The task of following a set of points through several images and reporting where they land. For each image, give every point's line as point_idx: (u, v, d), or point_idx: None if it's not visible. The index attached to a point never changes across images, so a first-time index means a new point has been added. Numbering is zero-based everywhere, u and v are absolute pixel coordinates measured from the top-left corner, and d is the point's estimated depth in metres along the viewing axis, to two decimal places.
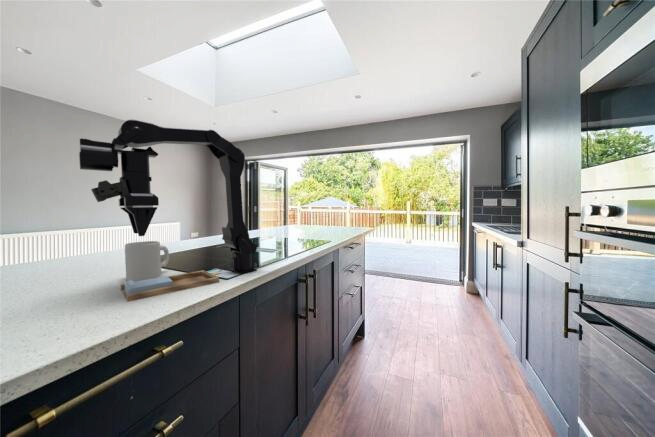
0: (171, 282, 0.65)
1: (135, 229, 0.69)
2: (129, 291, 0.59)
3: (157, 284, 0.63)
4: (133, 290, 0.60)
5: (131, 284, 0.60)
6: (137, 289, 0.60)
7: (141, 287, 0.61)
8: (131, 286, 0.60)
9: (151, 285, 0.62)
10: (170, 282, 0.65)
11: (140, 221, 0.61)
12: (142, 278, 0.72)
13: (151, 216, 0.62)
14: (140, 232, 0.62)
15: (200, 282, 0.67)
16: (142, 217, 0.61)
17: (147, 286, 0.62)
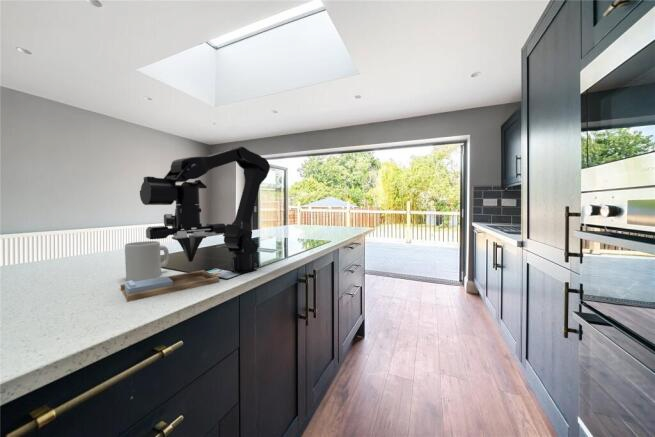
0: (171, 282, 0.65)
1: None
2: (129, 291, 0.59)
3: (157, 284, 0.63)
4: (133, 290, 0.60)
5: (131, 284, 0.60)
6: (137, 289, 0.60)
7: (141, 287, 0.61)
8: (131, 286, 0.60)
9: (151, 285, 0.62)
10: (170, 282, 0.65)
11: (183, 249, 0.70)
12: (142, 278, 0.72)
13: (184, 246, 0.68)
14: (187, 258, 0.70)
15: (200, 282, 0.67)
16: (184, 245, 0.69)
17: (147, 286, 0.62)
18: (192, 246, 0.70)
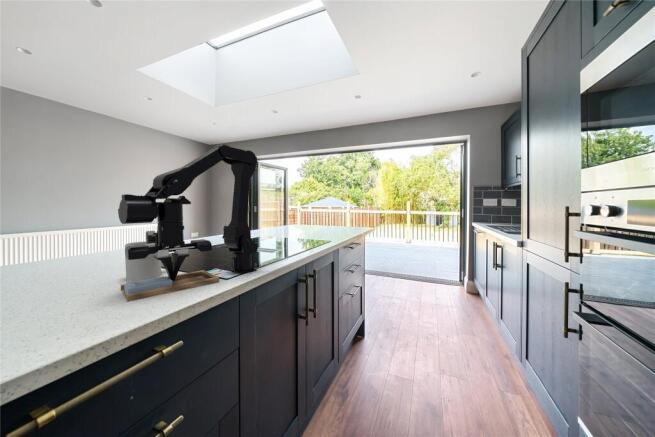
0: (171, 282, 0.65)
1: None
2: (129, 291, 0.59)
3: (157, 284, 0.63)
4: (133, 290, 0.60)
5: (131, 284, 0.60)
6: (137, 289, 0.60)
7: (141, 287, 0.61)
8: (131, 286, 0.60)
9: (151, 285, 0.62)
10: (170, 282, 0.65)
11: (165, 268, 0.67)
12: (142, 278, 0.72)
13: (165, 265, 0.65)
14: (169, 277, 0.67)
15: (200, 282, 0.67)
16: (166, 264, 0.67)
17: (147, 286, 0.62)
18: (174, 265, 0.67)
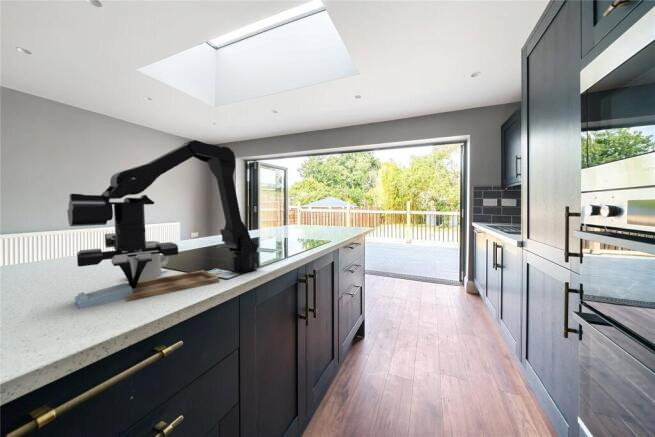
0: (130, 289, 0.59)
1: None
2: (80, 305, 0.53)
3: (114, 293, 0.57)
4: (85, 303, 0.53)
5: (82, 297, 0.54)
6: (90, 302, 0.54)
7: (95, 299, 0.55)
8: (82, 299, 0.53)
9: (107, 295, 0.56)
10: (129, 289, 0.59)
11: (125, 274, 0.61)
12: (142, 278, 0.72)
13: None
14: (129, 284, 0.62)
15: (200, 282, 0.67)
16: None
17: (102, 297, 0.56)
18: (135, 271, 0.61)
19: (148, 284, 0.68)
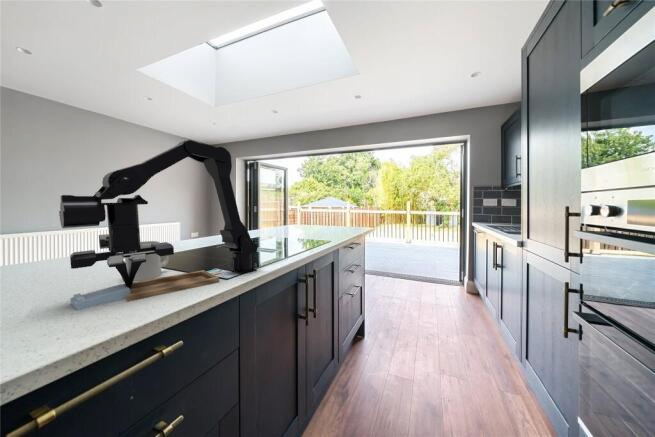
0: (128, 290, 0.59)
1: None
2: (78, 306, 0.52)
3: (111, 294, 0.57)
4: (82, 304, 0.53)
5: (79, 298, 0.53)
6: (87, 303, 0.53)
7: (92, 300, 0.54)
8: (79, 300, 0.53)
9: (104, 296, 0.56)
10: (127, 290, 0.59)
11: (121, 275, 0.61)
12: (142, 278, 0.72)
13: None
14: (126, 285, 0.61)
15: (200, 282, 0.67)
16: None
17: (100, 298, 0.55)
18: (129, 272, 0.61)
19: (148, 284, 0.68)
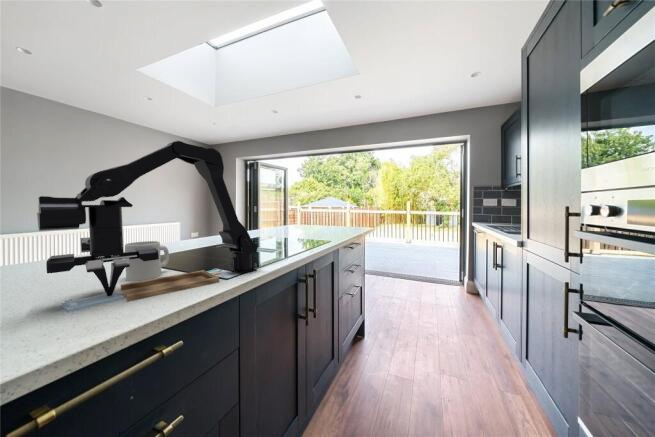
0: (122, 298, 0.58)
1: None
2: None
3: (105, 301, 0.56)
4: (75, 310, 0.52)
5: (72, 303, 0.52)
6: None
7: (85, 306, 0.53)
8: (72, 306, 0.52)
9: (97, 303, 0.55)
10: (121, 298, 0.58)
11: None
12: (142, 278, 0.72)
13: None
14: (105, 291, 0.59)
15: (200, 282, 0.67)
16: None
17: (93, 305, 0.54)
18: (111, 277, 0.58)
19: (148, 284, 0.68)
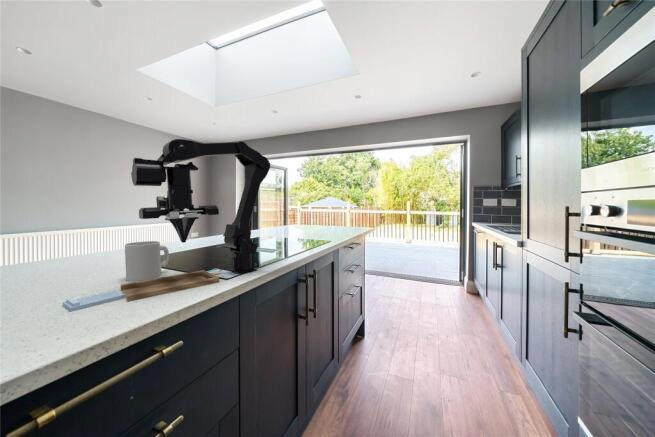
0: (123, 296, 0.59)
1: None
2: (72, 310, 0.52)
3: (106, 300, 0.56)
4: (77, 309, 0.52)
5: (73, 302, 0.53)
6: (82, 307, 0.53)
7: (87, 305, 0.53)
8: (74, 304, 0.52)
9: (99, 301, 0.55)
10: (122, 296, 0.58)
11: (176, 230, 0.71)
12: (142, 278, 0.72)
13: (177, 226, 0.69)
14: (180, 239, 0.72)
15: (200, 282, 0.67)
16: (177, 226, 0.71)
17: (95, 303, 0.54)
18: (185, 227, 0.72)
19: (148, 284, 0.68)
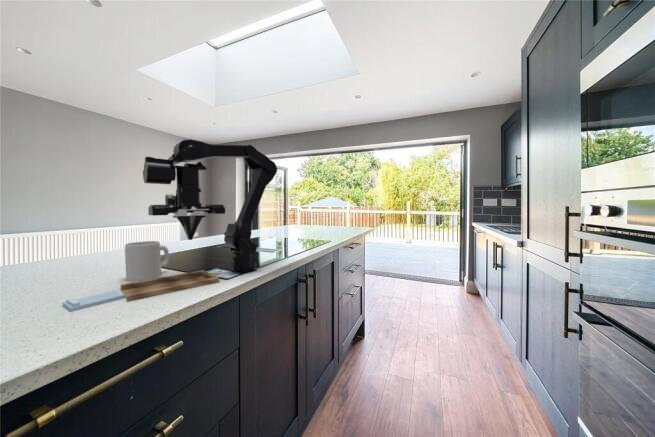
0: (123, 296, 0.59)
1: None
2: (72, 310, 0.52)
3: (106, 300, 0.56)
4: (77, 309, 0.52)
5: (74, 302, 0.53)
6: (82, 307, 0.53)
7: (87, 305, 0.53)
8: (74, 304, 0.52)
9: (99, 301, 0.55)
10: (122, 296, 0.58)
11: (184, 227, 0.73)
12: (142, 278, 0.72)
13: (184, 224, 0.71)
14: (187, 236, 0.74)
15: (200, 282, 0.67)
16: None
17: (95, 303, 0.54)
18: (192, 225, 0.74)
19: (148, 284, 0.68)
